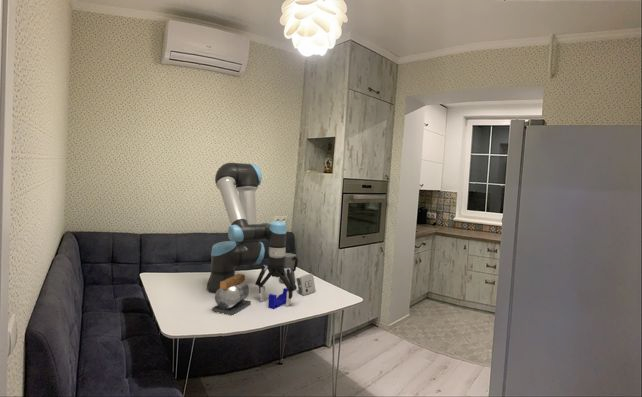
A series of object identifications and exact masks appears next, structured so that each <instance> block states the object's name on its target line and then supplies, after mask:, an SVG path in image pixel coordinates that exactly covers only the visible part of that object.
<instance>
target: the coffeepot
mask: <svg viewBox="0 0 642 397" xmlns="http://www.w3.org/2000/svg"><path fill="white" fill-rule="evenodd" d="M284 257H285V269H289V268H291V272H292V276H293V279H294V281H295V282H296V277H295V276H296V275H295V271H296V270H297V265H298V262H299V260H298V257H297V254H295V253H291V250H290V249H287V250H286V252H285V256H284ZM284 274H285V275H286V278H287V280H288V281H289V279H288V277H287V273H286V272H284ZM278 278H279V280H278V282H279V284H283V285H285V284H284V283H283V281H282V280H281V279H280V277H278ZM289 283H290V282H289Z"/></svg>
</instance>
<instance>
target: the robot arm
mask: <svg viewBox="0 0 642 397" xmlns="http://www.w3.org/2000/svg"><path fill="white" fill-rule="evenodd" d="M214 176H215V177H214V179H215V180H214V183H215V185H216V188H217V189H218V190H219V192H220V195H221V197H222V201H223V203H224V204H223V205H224V208H225V210H226V214H227V217H228V220H229V223H230V226H229V227H228V230H227V236H228V240H226V241H219V242H217V243H214V244H213V245H212V246H211V253H210V257H211V259H210V260H211V261H210V276H209V278H208V281H207V282H206V283H207V284H206V291H207V292H209V293H213V294H216V292H217V290H218V289H220V282H221V281H223V280H226V279H228V278H230V277H233V276H235V275H236V267H237V268H239V267H245V266H246V267H248V266H255V265H260V264H261V262H262V261H263V259H264V257H265V252H266V251H265V245H264V243H263V242H261V241H268V260H267V261H268V262H267V263H268V264H263V265H262V266H261V270H260V273H259V274H258V276H257V278H256V281H255V283H254V285H255V286H258V294H259V296H260V297H259V302H260V303H261V302H264V301H265V294H266V293H265V291H266V285H265V284H266V283H267V281H268V280H270V278H271V277H272V278H274V277H275V278H280V279H281V280H282V281H283V283H284V284H283V285H284V286H285V288H287V289H288V291H287V300H286V304H285V306H286V307H289V306H290V305H291V299H292V298H293V292H294V291H296V290H298V286H297V285H296V280H295V281H294V279H293V276H292V272H291V268H289V269H285V257H284V256H285V253H286V251H287V250H286V246H287V233H288V232H287V231H288V230H287V223H286V222H284V221H271V222H270V223H268V222H261V223H257V208H256V206H257V205H256V191H257V190H258V188H259V187H258V186H260V185H261V184H262V179H263V178H262V171H261V169H260V168H259V166H258V165H256V164H251V163H239V162H238V163H237V162H226V163H224V164H222V165H221V166H220V167H219V168H218V169H217V171H216V173H215V175H214ZM236 242H237V243H236ZM267 271H268V273H267V274H266V272H267ZM284 272H286V273H287V277H288V279H289V281H288V280H287V278H286V275H285V274H284ZM265 274H266V276H265ZM264 276H265V277H264ZM263 277H264V278H263ZM289 282H290V283H289Z"/></svg>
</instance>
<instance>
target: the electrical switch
mask: <svg viewBox="0 0 642 397" xmlns="http://www.w3.org/2000/svg"><path fill="white" fill-rule="evenodd" d="M314 279H315V278H314V274H313V273H307V274H305V275H301V276H299V277H297V278H296V282H297V291H298V294H299V295H302V296H306V295H310V294H312V293H315V292H316V287H315V286H316V284H315V280H314Z"/></svg>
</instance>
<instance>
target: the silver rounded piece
mask: <svg viewBox="0 0 642 397" xmlns="http://www.w3.org/2000/svg"><path fill="white" fill-rule="evenodd" d="M245 279H246V275H245V274H242V273H238V274H235V276H233V277H230V278H228V279H226V280H223V281H221V282H220V289H218V290H217V292H216V293H214V294H215V295H214V300H215V301H214V302H215V303H216V305H215V306H214V307H212V308H211V311H214V312H213V313H217V312H219V313H218V314H222V313H224V314H223V315H227V314H228V316H232V315H233V316H235V315H236V314H238V313H240V312H241V311H242V310H244V309H246V308H247V307H249V306H251V305H252V303H251V302H252V301H251V300H248V299H247V298H248V296H249V294H250V286H249V285H248V284H247V282H245ZM234 314H235V315H234Z"/></svg>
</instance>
